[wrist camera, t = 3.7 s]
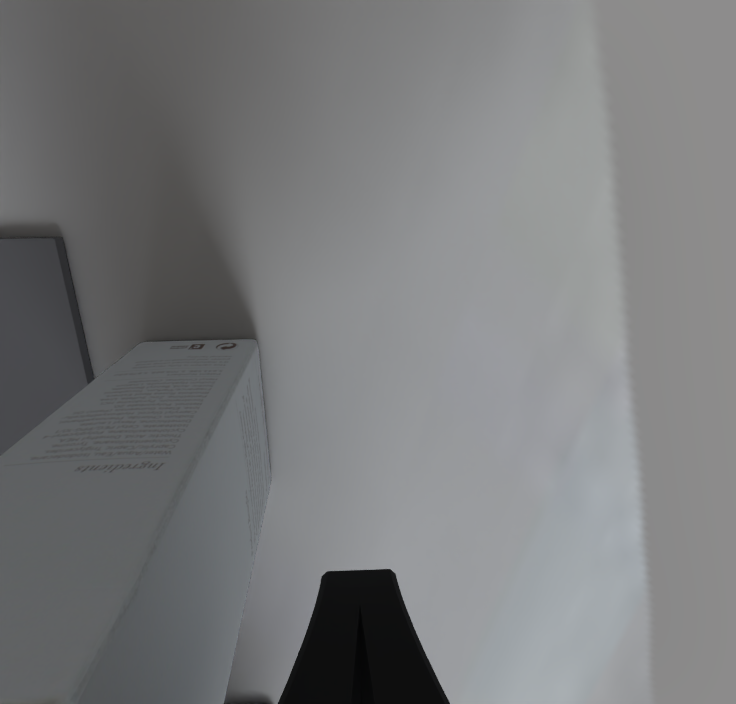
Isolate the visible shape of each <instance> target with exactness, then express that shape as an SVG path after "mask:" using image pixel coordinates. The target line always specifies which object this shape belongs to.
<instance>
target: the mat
mask: <svg viewBox="0 0 736 704" xmlns="http://www.w3.org/2000/svg"><path fill="white" fill-rule="evenodd" d="M93 380H94V378H93V374H92V369H91V365H90V360H89V356H88V351H87V347H86V342H85V338H84V333H83V329H82V324H81V320H80V315H79V311H78V306H77V302H76V297H75V293H74V288H73V284H72V279H71V275H70V270H69V266H68V262H67V257H66V253H65V248H64V244H63V239H62V237H40V238H0V456H1V455H2V454H3V453H4V452H6V451H7V450H8V449H9V448H10V447H12V446H13V445H14V444H15V443H17V442H18V441H19V440H20V439H21V438H23V437H24V436H25V435H27V434H28V433H29V432H30V431H31V430H33V429H34V428H35V427H36V426H38V425H39V424H40V423H41V422H43V421H44V420H45V419H46V418H47V417H48V416H50V415H51V414H52V413H54V412H55V411H56V410H57V409H59V408H60V407H61V406H62V405H63V404H65V403H66V402H67V401H69V400H70V399H71V398H72V397H74V396H75V395H76V394H77V393H78V392H80V391H81V390H82V389H83V388H85V387H86V386H87V385H88V384H90V383H91V382H92V381H93Z"/></svg>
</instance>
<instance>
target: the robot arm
mask: <svg viewBox="0 0 736 704" xmlns="http://www.w3.org/2000/svg"><path fill="white" fill-rule="evenodd" d="M278 704H450V703H449V701H448V699H447V697H446V695H445V693H444V691H443V689H442V687H441V685H440V683H439V681H438V679H437V677H436V675H435V673H434V670H433V668H432V666H431V664H430V662H429V660H428V658H427V656H426V654H425V652H424V650H423V647H422V645H421V643H420V641H419V638H418V636H417V634H416V631H415V629H414V627H413V624H412V622H411V619H410V617H409V614H408V612H407V609H406V606H405V604H404V601H403V598H402V595H401V592H400V589H399V586H398V582H397V578H396V574H395V573H394V572H393V571H392V570H390V569H381V570H353V571H327V572H326V573H325V574H324V575H323V576H322V578H321V584H320V589H319V593H318V597H317V600H316V604H315V607H314V611H313V614H312V617H311V620H310V623H309V626H308V629H307V632H306V635H305V638H304V640H303V643H302V646H301V648H300V651H299V653H298V656H297V658H296V661H295V663H294V666H293V669H292V671H291V674H290V676H289V679H288V681H287V684H286V686H285V688H284V691H283V693H282V695H281V697H280V700H279V702H278Z"/></svg>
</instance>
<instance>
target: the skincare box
mask: <svg viewBox="0 0 736 704" xmlns="http://www.w3.org/2000/svg"><path fill="white" fill-rule="evenodd" d="M270 484H271V471H270V462H269V451H268V440H267V430H266V420H265V410H264V400H263V390H262V379H261V368H260V358H259V349H258V343H257V341H256V340H254V339H236V340H198V341H161V342H142V343H140V344H138V345H137V346H135V347H134V348H133V349H132V350H131V351H129V352H128V353H127V354H126V355H124V356H123V357H122V358H121V359H120V360H118V361H117V362H116V363H114V364H113V365H112V366H111V367H109V368H108V369H107V370H106V371H104V372H103V373H102V374H101V375H99V376H98V377H97V378H96V379H94V380H93V381H92V382H91V383H90V384H88V385H87V386H86V387H85V388H83V389H82V390H81V391H80V392H78V393H77V394H76V395H75V396H74V397H72V398H71V399H70V400H69V401H67V402H66V403H65V404H63V405H62V406H61V407H60V408H59V409H57V410H56V411H55V412H54V413H52V414H51V415H50V416H48V417H47V418H46V419H45V420H44V421H43V422H41V423H40V424H39V425H38V426H36V427H35V428H34V429H33V430H31V431H30V432H29V433H28V434H27V435H25V436H24V437H23V438H21V439H20V440H19V441H18V442H17V443H15V444H14V445H13V446H12V447H10V448H9V449H8V450H7V451H6V452H4V453H3V454H2V455H1V456H0V704H224V701H225V696H226V691H227V686H228V682H229V677H230V672H231V668H232V663H233V658H234V653H235V649H236V644H237V639H238V635H239V630H240V625H241V620H242V616H243V611H244V606H245V601H246V597H247V592H248V587H249V583H250V578H251V573H252V568H253V564H254V559H255V554H256V550H257V545H258V541H259V536H260V531H261V527H262V522H263V517H264V513H265V508H266V503H267V499H268V494H269V489H270Z"/></svg>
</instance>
